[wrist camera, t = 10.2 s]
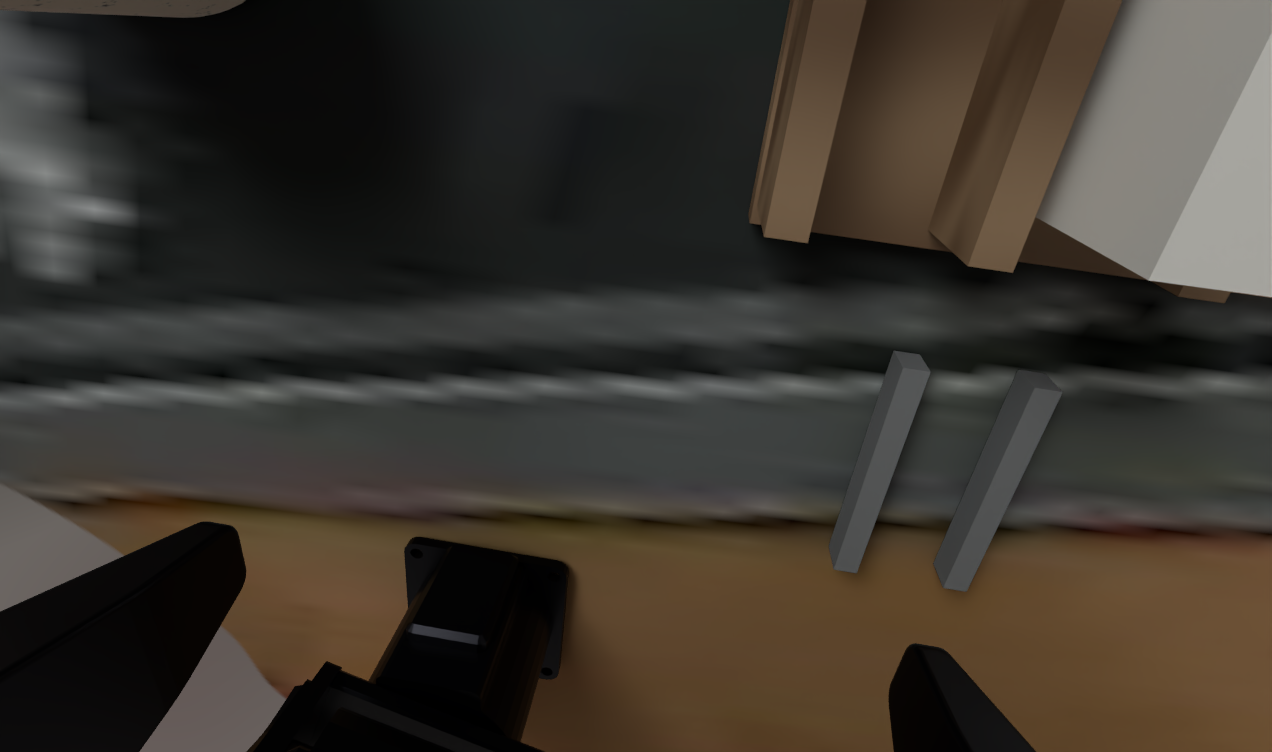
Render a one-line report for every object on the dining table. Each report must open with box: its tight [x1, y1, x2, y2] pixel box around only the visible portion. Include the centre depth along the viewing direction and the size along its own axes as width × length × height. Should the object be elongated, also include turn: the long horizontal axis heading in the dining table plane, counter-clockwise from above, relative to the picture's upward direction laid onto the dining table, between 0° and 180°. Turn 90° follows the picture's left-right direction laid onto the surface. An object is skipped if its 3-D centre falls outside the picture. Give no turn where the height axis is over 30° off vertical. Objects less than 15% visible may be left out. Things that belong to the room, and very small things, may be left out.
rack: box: [748, 0, 1272, 303], centre depth 14 cm, size 10×15×4 cm, turn 83°
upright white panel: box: [1036, 0, 1272, 297], centre depth 12 cm, size 7×2×6 cm, turn 174°
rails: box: [829, 351, 1063, 592], centre depth 21 cm, size 8×5×1 cm, turn 173°
